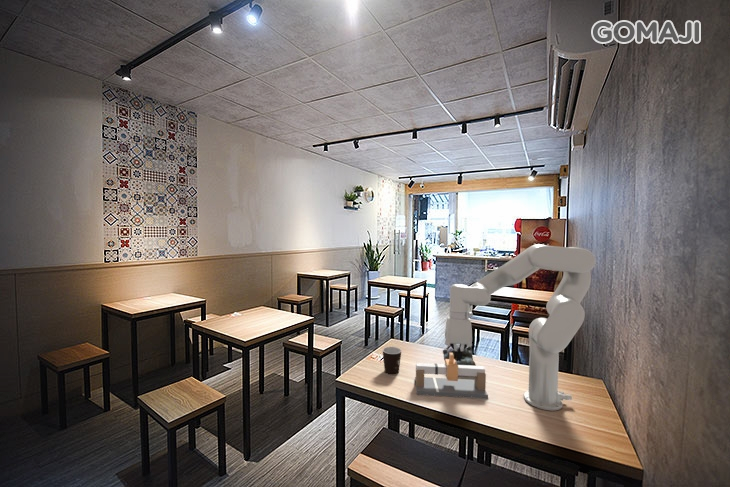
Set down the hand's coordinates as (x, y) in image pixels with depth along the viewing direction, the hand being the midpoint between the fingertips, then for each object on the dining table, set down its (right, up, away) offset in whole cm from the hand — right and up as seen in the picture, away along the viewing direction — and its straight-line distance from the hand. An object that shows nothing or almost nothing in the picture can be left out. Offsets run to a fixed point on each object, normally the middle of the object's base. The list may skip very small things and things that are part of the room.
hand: (457, 359), depth 126 cm
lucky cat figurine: (+5, -12, +17) cm, 22 cm away
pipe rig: (-3, -12, +1) cm, 13 cm away
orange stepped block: (-3, -7, 0) cm, 8 cm away
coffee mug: (-24, -12, +17) cm, 32 cm away
